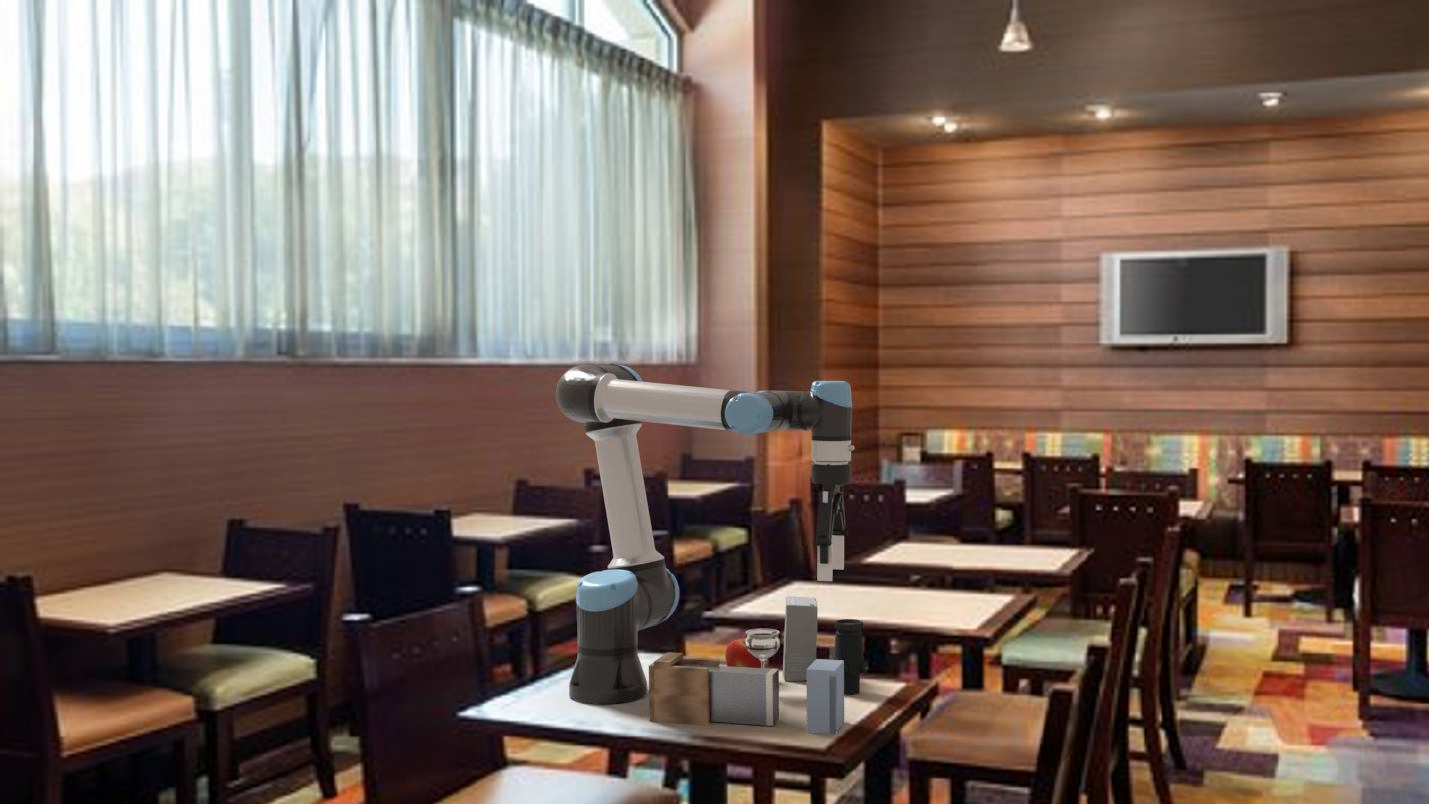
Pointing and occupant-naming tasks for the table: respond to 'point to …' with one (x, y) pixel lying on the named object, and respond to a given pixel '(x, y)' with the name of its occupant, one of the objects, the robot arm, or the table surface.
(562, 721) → the table surface
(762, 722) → the grey rectangular box
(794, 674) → the skincare box
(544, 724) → the table surface
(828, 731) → the blue-grey upright rectangular block
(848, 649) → the scope
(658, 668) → the brown wooden box
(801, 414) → the robot arm
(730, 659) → the apple
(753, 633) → the wineglass
